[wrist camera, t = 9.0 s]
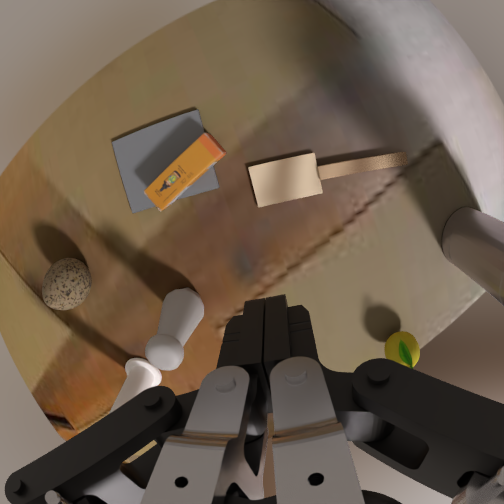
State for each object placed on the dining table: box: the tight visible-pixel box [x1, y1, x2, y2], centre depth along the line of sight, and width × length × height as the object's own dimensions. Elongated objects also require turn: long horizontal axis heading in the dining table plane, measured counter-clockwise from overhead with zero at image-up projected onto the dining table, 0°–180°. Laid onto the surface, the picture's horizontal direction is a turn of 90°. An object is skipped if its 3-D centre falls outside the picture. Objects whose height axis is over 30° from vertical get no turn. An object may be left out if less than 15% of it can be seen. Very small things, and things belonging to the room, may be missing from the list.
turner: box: [248, 152, 408, 207], centre depth 32 cm, size 20×5×1 cm, turn 104°
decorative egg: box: [42, 258, 91, 310], centre depth 34 cm, size 7×7×10 cm
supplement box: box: [144, 133, 227, 211], centre depth 31 cm, size 3×3×10 cm
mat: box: [112, 110, 219, 213], centre depth 33 cm, size 12×10×1 cm
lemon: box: [385, 331, 420, 369], centre depth 37 cm, size 7×6×10 cm
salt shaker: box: [145, 287, 204, 370], centre depth 34 cm, size 6×6×13 cm
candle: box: [109, 358, 162, 414], centre depth 34 cm, size 7×7×25 cm
